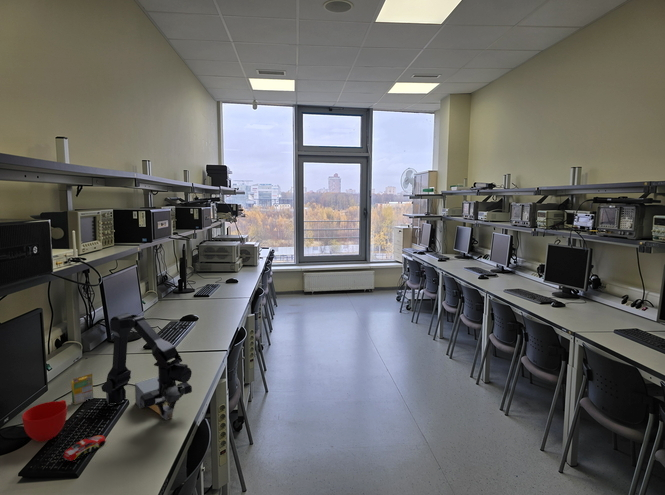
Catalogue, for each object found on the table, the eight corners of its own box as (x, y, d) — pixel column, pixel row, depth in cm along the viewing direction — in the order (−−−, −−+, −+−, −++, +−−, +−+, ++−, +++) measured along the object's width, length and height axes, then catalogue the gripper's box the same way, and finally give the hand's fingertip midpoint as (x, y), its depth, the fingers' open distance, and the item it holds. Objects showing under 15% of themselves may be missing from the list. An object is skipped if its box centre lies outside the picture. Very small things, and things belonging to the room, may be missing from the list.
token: (157, 410, 158) (157, 408, 158) (152, 405, 161) (152, 403, 161) (169, 406, 162) (169, 403, 161) (164, 401, 165) (164, 399, 165)
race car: (99, 438, 139) (99, 428, 139) (109, 443, 137) (108, 433, 136) (60, 459, 127) (60, 448, 127) (70, 465, 125) (69, 454, 125)
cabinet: (144, 414, 155) (144, 393, 154) (135, 403, 163) (135, 383, 162) (176, 403, 164) (176, 383, 163) (166, 393, 172) (165, 374, 171)
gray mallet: (166, 419, 151) (166, 411, 151) (146, 406, 159) (146, 398, 159) (172, 417, 153) (172, 408, 153) (152, 403, 162) (152, 395, 161)
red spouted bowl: (82, 419, 149) (81, 396, 148) (52, 447, 133) (50, 421, 131) (48, 419, 149) (47, 395, 148) (14, 447, 132) (12, 420, 131)
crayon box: (91, 396, 167) (90, 371, 166) (93, 398, 165) (92, 373, 164) (71, 402, 161) (70, 376, 160) (74, 405, 160) (73, 379, 158)
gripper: (148, 392, 139) (149, 432, 141) (197, 377, 152) (198, 413, 154) (138, 381, 147) (139, 419, 149) (186, 367, 160) (186, 402, 162)
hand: (166, 413), depth 153 cm, fingers closed on gray mallet, 3 cm apart
